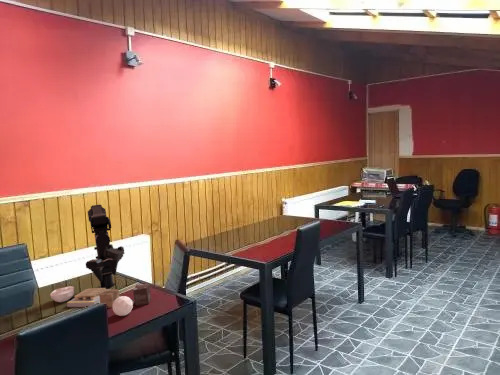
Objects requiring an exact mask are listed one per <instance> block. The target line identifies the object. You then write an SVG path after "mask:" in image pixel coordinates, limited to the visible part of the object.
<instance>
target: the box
mask: <svg viewBox="0 0 500 375" xmlns="http://www.w3.org/2000/svg"><path fill="white" fill-rule="evenodd" d="M150 288H151V287H150V284H149V283H144V284H136V285H135V286H134V288H133V289H132V292H133V298H134V299H133V300H134V305H135V306H143V305H149V304H150V302H151V301H152V294H151V289H150Z"/></svg>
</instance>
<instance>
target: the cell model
mask: <svg viewBox="0 0 500 375" xmlns="http://www.w3.org/2000/svg"><path fill="white" fill-rule="evenodd" d="M49 296H50V297H51V299H52V300H53V301H55V302H56V303H64V302H68V301H70V299H71V298H72V297H74V296H75V287H74V286H71V285H70V286H66V287H61V288H60V287H59V288H56V289H54V290H53V291H52V292H51V293H50V294H49Z"/></svg>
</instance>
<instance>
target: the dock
mask: <svg viewBox="0 0 500 375" xmlns="http://www.w3.org/2000/svg"><path fill="white" fill-rule="evenodd" d="M106 290H112V289H111V288H106ZM106 290H105V291H106ZM96 303H99V304H101V303H100V296H98V297H97V298H95V299H94V300H91V297H89V298H88V299H86V300H83V297H82V298H81V299H79V300H76V299H75V297H74V298H72V299H71V300H68V301H66V306H67V308H85V307H86V306H90V305H93V304H96ZM86 308H87V307H86Z"/></svg>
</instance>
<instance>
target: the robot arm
mask: <svg viewBox="0 0 500 375" xmlns="http://www.w3.org/2000/svg"><path fill="white" fill-rule="evenodd" d="M87 217H88V223H90V229H91V234H93V235H94V241H95V242H94V243H95V246H94V249H93V250H94V251H95V250H96V253H97V254H96V255H97V256H95V259H93V258H92V259H91V260H87V261H86V262H85V268H86V269H88V270H90V271H91V272H92V273H93V274H94V275H95V277H96V278H97V280H98V281H99V284H100V286H99V287H97V288H106V289H111V288H112V287H114V286H115V285H117V283H116V282H114V278H113V276H115V275H116V274H117V268H118V265H119V262H120V261H121V260H122V259H123V257H124V255H125V248H124V246H122V245H121V246H118V247H114V245H113V244H112V243H111V237H110V235H109V232H108V231H111V229H112V223H111V222H112V221H111V219H110V217H109V216H107V212H106V208H104V207H103V206H102V204H94V205H91V206H90V209H89V210H87Z"/></svg>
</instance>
